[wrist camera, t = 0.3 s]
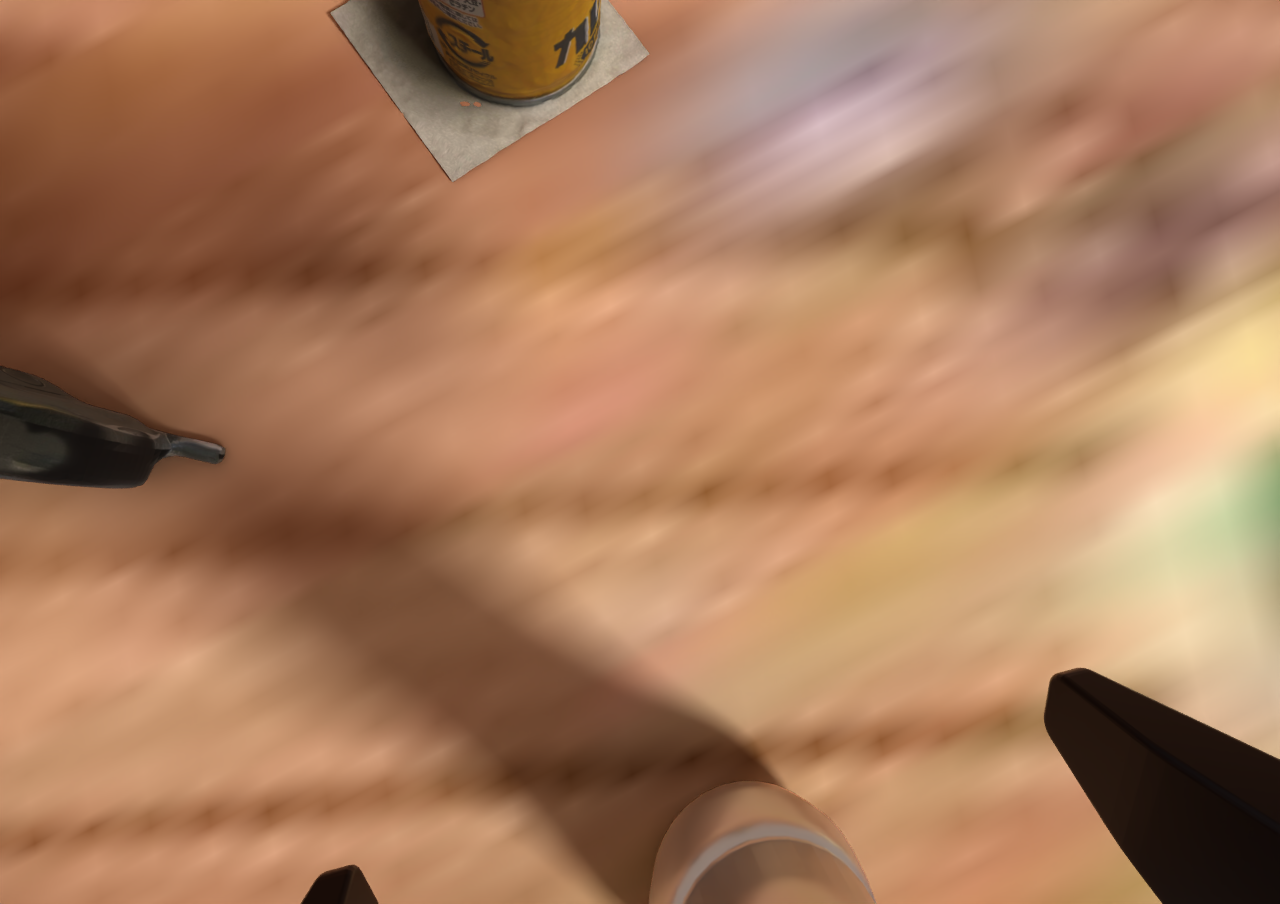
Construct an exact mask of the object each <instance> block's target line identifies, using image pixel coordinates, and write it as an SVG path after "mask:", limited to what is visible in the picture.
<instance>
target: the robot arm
mask: <svg viewBox="0 0 1280 904" xmlns="http://www.w3.org/2000/svg"><path fill="white" fill-rule="evenodd" d="M1044 723H1045V727H1046V730H1047V732H1048V734H1049V736H1050V738H1051V740H1052V741H1053V743H1054V744H1055V746H1056V747H1057V749H1058V751H1059V752H1060V754H1061V755H1062V757H1063V759H1064V760H1065V762H1066V763H1067V765H1068V767H1069V768H1070V770H1071V771H1072V773H1073V774H1074V776H1075V778H1076V779H1077V781H1078V782H1079V784H1080V786H1081V787H1082V789H1083V790H1084V792H1085V793H1086V795H1087V797H1088V798H1089V800H1090V801H1091V803H1092V805H1093V806H1094V808H1095V809H1096V811H1097V812H1098V814H1099V816H1100V817H1101V819H1102V820H1103V822H1104V824H1105V825H1106V827H1107V828H1108V830H1109V831H1110V833H1111V834H1112V836H1113V837H1114V839H1115V840H1116V842H1117V843H1118V845H1119V846H1120V848H1121V849H1122V851H1123V852H1124V853H1125V855H1126V856H1127V857H1128V859H1129V860H1130V862H1131V863H1132V864H1133V866H1134V867H1135V868H1136V870H1137V871H1138V872H1139V874H1140V875H1141V876H1142V877H1143V879H1144V880H1145V881H1146V883H1147V884H1148V885H1149V887H1150V888H1151V889H1152V891H1153V892H1154V893H1155V895H1156V896H1157V897H1158V898H1159V900H1160V901H1161V902H1162V904H1280V759H1278V758H1276V757H1274V756H1271V755H1269V754H1267V753H1265V752H1263V751H1261V750H1259V749H1257V748H1255V747H1252V746H1250V745H1248V744H1246V743H1244V742H1242V741H1240V740H1238V739H1236V738H1233V737H1231V736H1229V735H1227V734H1225V733H1223V732H1221V731H1219V730H1216V729H1214V728H1212V727H1210V726H1208V725H1206V724H1204V723H1202V722H1200V721H1197V720H1195V719H1193V718H1191V717H1189V716H1187V715H1185V714H1183V713H1181V712H1178V711H1176V710H1174V709H1172V708H1170V707H1168V706H1166V705H1164V704H1162V703H1159V702H1157V701H1155V700H1153V699H1151V698H1149V697H1147V696H1145V695H1143V694H1140V693H1138V692H1136V691H1134V690H1132V689H1130V688H1128V687H1126V686H1124V685H1121V684H1119V683H1117V682H1115V681H1113V680H1111V679H1109V678H1107V677H1104V676H1102V675H1100V674H1098V673H1096V672H1094V671H1092V670H1089V669H1086V668H1075V669H1071V670H1068V671H1064V672H1060V673H1057V674H1055V675H1053V677H1052V678H1051V679H1050V682H1049V688H1048V694H1047V700H1046V706H1045V712H1044ZM301 904H378V901H377V899H376V897H375V895H374V894H373V892H372V890H371V888H370V886H369V884H368V882H367V881H366V879H365V877H364V875H363V873H362V871H361V870H360V868H359V867H357V866H356V865H348V866H344V867H341V868H337V869H333V870H330V871H326V872H324V873H322V874H321V875H320V876H319V877H318V878H317V879H316V880H315V882H314V883H313V885H312V886H311V888H310V890H309V891H308V893H307V894H306V896H305V898H304V899H303V901H302V902H301Z"/></svg>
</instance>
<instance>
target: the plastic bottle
mask: <svg viewBox="0 0 1280 904" xmlns="http://www.w3.org/2000/svg"><path fill="white" fill-rule="evenodd" d="M649 904H877V903H876V900H875V898H874V895H873V892H872V890H871V887H870V884H869V882H868V879H867V877H866V874H865V872H864V870H863V868H862V866H861V865H860V863H859V861H858V859H857V857H856V855H855V853H854V851H853V849H852V847H851V846H850V844H849V843H848V841H847V839H846V838H845V836H844V834H843V833H842V831H841V830H840V829H839V828H838V827H837V826H836V825H835V824H834V823H833V822H832V820H831V819H830V818H829V817H828V816H827V815H826V814H824V813H823V812H822V811H820V810H819V809H817V808H816V807H815V806H813V805H812V804H811V803H809V802H808V801H806V800H804V799H803V798H801V797H800V796H798V795H796V794H795V793H793V792H791V791H789V790H787V789H784V788H782V787H780V786H778V785H774V784H770V783H765V782H761V781H737V782H733V783H728V784H724V785H720V786H718V787H716V788H714V789H711V790H709V791H707V792H705V793H703V794H702V795H700V796H699V797H698V798H696V799H695V800H693V801H692V802H691V803H689V804H688V805H687V806H686V807H685V808H684V809H683V811H682V812H681V813H680V814H679V815H678V816H677V817H676V818H675V819H674V821H673V823H672V824H671V826H670V827H669V829H668V831H667V832H666V834H665V835H664V837H663V840H662V843H661V845H660V848H659V850H658V853H657V855H656V860H655V865H654V870H653V875H652V882H651V888H650V895H649Z"/></svg>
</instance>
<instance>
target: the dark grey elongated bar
mask: <svg viewBox="0 0 1280 904" xmlns="http://www.w3.org/2000/svg"><path fill="white" fill-rule="evenodd" d="M171 456H181V457H187V458H191V459H195V460H200V461H204V462H208V463H212V464H218V463H220V462H221V461H222V460H223V458H224V456H225V448H224V447H222V446H220V445H218V444H214V443H210V442H206V441H201V440H196V439H192V438H187V437H182V436H177V435H173V434H169V433H165V432H161V431H158V430H154V429H151V428H148V427H146V426H145V425H144V424H143V423H141V422H140V421H138V420H137V419H135V418H133V417H130V416H128V415H125V414H122V413H118V412H114V411H110V410H107V409H103V408H99V407H96V406H92V405H89V404H86V403H84V402H82V401H79V400H78V399H76V398H74V397H72V396H70V395H69V394H67V393H66V392H64V391H63V390H61V389H60V388H58V387H57V386H55V385H53V384H52V383H50V382H48V381H46V380H44V379H42V378H40V377H37V376H34V375H31V374H28V373H25V372H21V371H18V370H14V369H10V368H6V367H3V366H0V479H9V480H18V481H26V482H36V483H45V484H55V485H67V486H81V487H97V488H133V487H137V486H140V485H142V484H144V483H145V481H146V480H147V479H148V477H149V475H150V472H151V470H152V469H153V467H154V465H155V464H156V463H157V462H158V461H159V460H161V459H162V458H166V457H171Z"/></svg>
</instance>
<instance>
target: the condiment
mask: <svg viewBox="0 0 1280 904" xmlns="http://www.w3.org/2000/svg"><path fill="white" fill-rule="evenodd" d="M331 15H332V16H333V18H334V19H335V20H336V22H337V23H338V25H339V26H340V27H341V29H342V30H343V31H344V32H345V34H346V36H347V37H348V39H349V40H350V42H351V43H352V44H353V46H354V47H355V48H356V50H357V51H358V53H359V54H360V55H361V57H362V58H363V60H364V61H365V62H366V64H367V65H368V66H369V67H370V69H371V70H372V72H373V74H374V75H375V76H376V78H377V79H378V80H379V82H380V83H381V84H382V86H383V87H384V89H385V90H386V91H387V93H388V94H389V95H390V97H391V98H392V100H393V101H394V102H395V104H396V105H397V106H398V108H399V109H400V111H401V112H402V113H403V114H404V117H405V118H406V119H407V120H408V122H409V123H410V124H411V126H412V127H413V128H414V129H415V131H416V132H417V134H418V135H419V136H420V138H421V139H422V141H423V142H424V144H425V145H426V146H427V148H428V149H429V150H430V152H431V153H432V154H433V156H434V157H435V158H436V160H437V161H438V163H439V164H440V165H441V167H442V168H443V169H444V171H445V172H446V173H447V175H448V176H449V178H450V179H451V180H452V182H454V181H455V180H457V179H458V178H460V177H462V176H463V175H465V174H466V173H467V172H468V171H470V170H471V169H473V168H474V167H476V166H478V165H479V164H481V163H483V162H485V161H487V160H488V159H489V158H491V157H492V156H494V155H495V154H496V153H497V152H499V151H500V150H502V149H504V148H506V147H507V146H509V145H510V144H512V143H513V142H515V141H517V140H519V139H520V138H521V137H522V136H524V135H525V134H527V133H529V132H531V131H533V130H534V129H536V128H537V127H538V126H540V125H542V124H544V123H545V122H547V121H549V120H551V119H552V118H554V117H556V116H557V115H559V114H561V113H562V112H564V111H565V110H567V109H569V108H570V107H571V106H573V105H574V104H576V103H578V102H579V101H580V100H582V99H583V98H585V97H587V96H589V95H590V94H592V93H593V92H594V91H596V90H598V89H599V88H601V87H603V86H604V85H606V84H607V83H609V82H610V81H612V80H613V79H614V78H616V77H617V76H618V75H620V74H622V73H624V72H626V71H627V70H628V69H630V68H632V67H633V66H634V65H636V64H637V63H639V62H640V61H642V60H643V59H644V58H645V57H646V56H647V55H649V52H648V51H647V50H646V49H645V47H644V46H643V45H642V43H641V42H640V41H639V39H638V38H637V37H636V35H635V34H634V33H633V31H632V30H631V29H630V27H629V26H628V25H627V24H626V22H625V21H624V19H623V18H622V17H621V16H620V15H619V14H618V13H617V11H616V10H615V8H614V7H613V6H612V5H611V3H610V2H609V1H608V0H350V1H348V2H347V3H346V4H344V5H342V6H341V7H339V8H337V9H336V10H334V11H332V12H331ZM463 101H465V102H469V103H470V106H461V104H460V102H463ZM474 102H479V103H481V107H477V106H474V105H473V103H474Z"/></svg>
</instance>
